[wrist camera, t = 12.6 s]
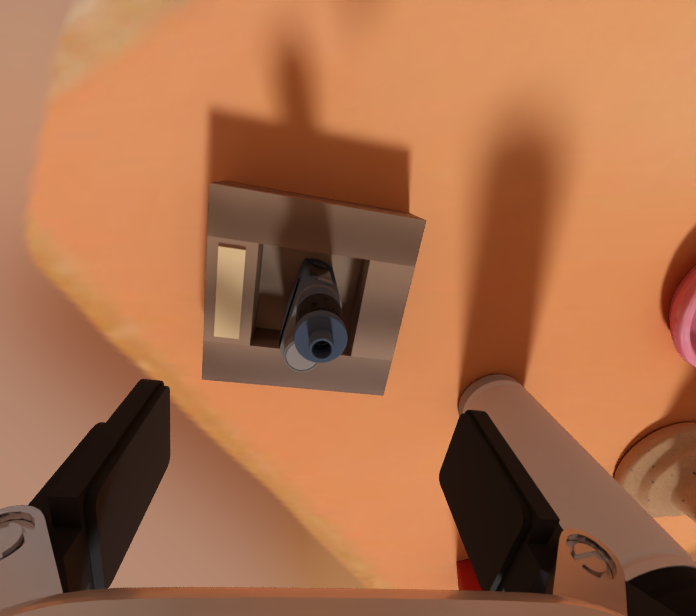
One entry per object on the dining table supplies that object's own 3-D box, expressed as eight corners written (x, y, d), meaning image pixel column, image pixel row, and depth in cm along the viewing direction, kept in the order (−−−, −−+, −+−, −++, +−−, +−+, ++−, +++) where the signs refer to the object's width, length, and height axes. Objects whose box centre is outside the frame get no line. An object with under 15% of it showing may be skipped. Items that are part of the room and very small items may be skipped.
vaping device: (339, 262, 26) (362, 333, 14) (313, 324, 27) (317, 432, 16) (305, 249, 25) (302, 313, 14) (281, 314, 27) (261, 418, 15)
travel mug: (441, 413, 33) (613, 729, 14) (490, 360, 31) (754, 639, 13) (487, 441, 35) (692, 754, 16) (535, 393, 33) (824, 677, 15)
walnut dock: (224, 180, 24) (208, 183, 20) (409, 213, 26) (427, 220, 22) (215, 351, 28) (200, 381, 24) (374, 367, 30) (383, 397, 26)
